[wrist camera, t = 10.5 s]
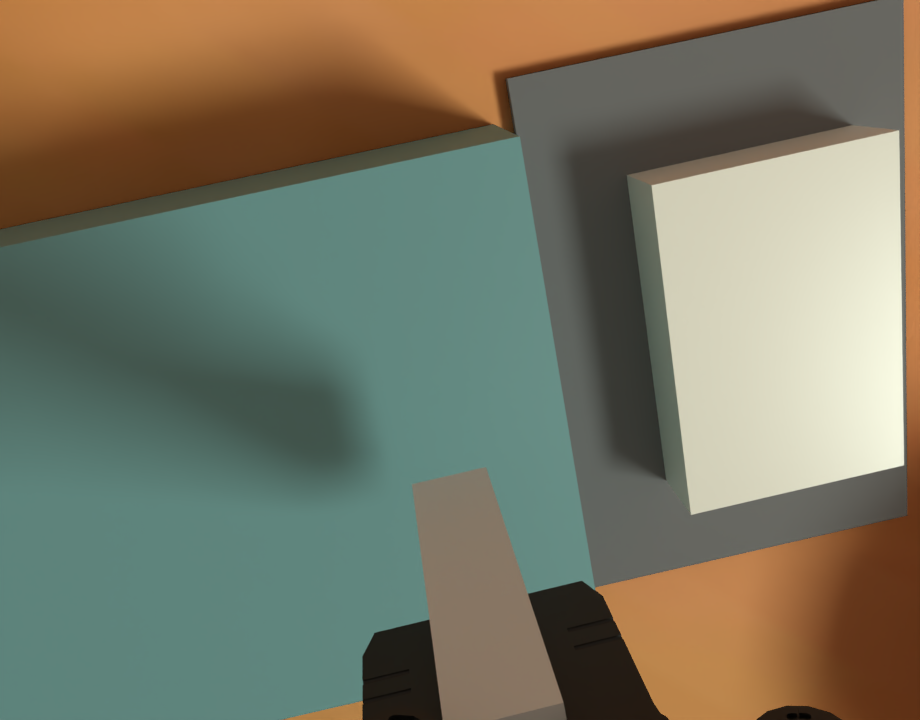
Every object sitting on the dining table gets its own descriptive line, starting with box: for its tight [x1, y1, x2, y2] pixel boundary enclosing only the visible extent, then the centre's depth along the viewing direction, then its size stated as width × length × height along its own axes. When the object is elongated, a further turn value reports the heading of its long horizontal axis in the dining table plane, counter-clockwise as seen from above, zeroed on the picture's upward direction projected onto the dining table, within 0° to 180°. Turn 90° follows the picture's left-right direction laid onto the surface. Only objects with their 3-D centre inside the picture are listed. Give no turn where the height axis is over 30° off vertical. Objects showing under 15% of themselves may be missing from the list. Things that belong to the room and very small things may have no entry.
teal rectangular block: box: [0, 124, 595, 720], centre depth 21 cm, size 20×13×4 cm, turn 101°
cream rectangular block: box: [627, 125, 904, 515], centre depth 22 cm, size 6×9×2 cm, turn 12°
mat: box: [506, 0, 907, 587], centre depth 23 cm, size 10×15×1 cm, turn 11°
